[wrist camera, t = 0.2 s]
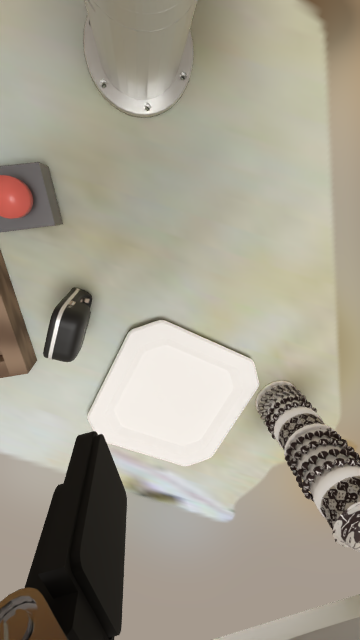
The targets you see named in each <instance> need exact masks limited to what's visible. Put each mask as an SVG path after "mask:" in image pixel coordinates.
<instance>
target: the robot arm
mask: <svg viewBox="0 0 360 640" xmlns="http://www.w3.org/2000/svg"><path fill="white" fill-rule="evenodd" d="M197 1H198V0H85V4H86V8H87V12H88V14H87V17H86V22H85V26H84V38H83V44H84V53H85V58H86V62H87V66H88V69H89V72H90V75H91V77H92V79H93V81H94V83H95V85H96V87H97V89H98V90H99V91H100V93H101V94H102V95H103V97H104V98H105V99H106V100H107V101H108V102H109V103H110V104H111V105H113V106H114V107H115V108H117V109H119V110H120V111H122V112H124V113H126V114H129V115H131V116H137V117H152V116H155V115H159V114H161V113H163V112H165V111H167V110H168V109H170V108H171V107H172V106H173V105H174V104H175V103H176V102H177V101H178V100H179V98H180V97H181V96H182V94H183V92H184V90H185V88H186V87H187V84H188V82H189V79H190V76H191V71H192V67H193V56H194V51H193V39H192V35H191V31H190V27H191V23H192V19H193V16H194V12H195V9H196V5H197ZM181 77H183V78H184V80H181ZM103 84H105V85H106V87H105V88H103V87H102V85H103ZM146 107H148V108H149V111H146V110H145V108H146ZM126 510H127V497H126V492H125V489H124V486H123V484H122V481H121V479H120V476H119V474H118V471H117V468H116V466H115V463H114V461H113V458H112V456H111V453H110V451H109V448H108V445H107V443H106V440H105V438H104V436H103V434H99V435H98V434H97V432H96V431H93V432H89V433H85V434H82V435H78V436H77V438H76V442H75V445H74V449H73V452H72V456H71V459H70V463H69V466H68V470H67V473H66V477H65V481H64V484H60V485H58V486H57V487H56V489H55V492H54V494H53V498H52V501H51V504H50V508H49V511H48V514H47V517H46V520H45V524H44V527H43V530H42V533H41V537H40V540H39V543H38V546H37V550H36V553H35V556H34V559H33V562H32V566H31V569H30V572H29V575H28V579H27V582H26V585H25V588H23V589H19V590H17V591H15V592H13V593H12V594H10V595H8V596H7V597H6V598H4V599H3V600H2V601H1V602H0V640H114V636H117V635H119V634H120V631H121V624H122V623H121V622H122V601H123V600H122V599H123V577H124V556H125V533H126ZM213 640H360V594H359V595H356V596H352V597H349V598H346V599H342V600H339V601H336V602H332V603H329V604H326V605H323V606H319V607H316V608H313V609H310V610H306V611H303V612H300V613H297V614H294V615H290V616H287V617H284V618H281V619H278V620H274V621H271V622H268V623H265V624H261V625H258V626H255V627H252V628H248V629H245V630H242V631H239V632H235V633H232V634H229V635H226V636H223V637H219V638H216V639H213Z"/></svg>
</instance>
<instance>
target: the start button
mask: <svg viewBox="0 0 360 640" xmlns="http://www.w3.org/2000/svg"><path fill="white" fill-rule="evenodd" d="M32 206H33V196H32V193H31V191H30V189H29V188H28V186H27V185H26V184H25V183H24V182H22V181H21V180H19V179H17V178H14V177H11V176H7V175H0V216H1V217H4V218H10V219H12V218H22V217H24V216H26V215H27V214H28V213H29V212H30V211H31V209H32Z"/></svg>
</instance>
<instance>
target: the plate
mask: <svg viewBox="0 0 360 640" xmlns="http://www.w3.org/2000/svg"><path fill="white" fill-rule="evenodd" d="M258 387H259V380H258V376H257V372H256V368H255V364H254V361H253V360H252V359H250V358H248V357H246V356H244V355H242V354H239V353H237V352H235V351H233V350H230V349H228V348H226V347H224V346H221V345H219V344H217V343H215V342H212V341H210V340H208V339H206V338H203V337H201V336H199V335H197V334H195V333H192V332H190V331H188V330H186V329H183V328H181V327H179V326H177V325H174V324H172V323H170V322H168V321H165V320H158V321H155V322H152V323H149V324H146V325H143V326H140V327H137V328H134V329H132V330H131V331H129V332H128V334H127V336H126V338H125V340H124V342H123V344H122V346H121V348H120V350H119V352H118V354H117V356H116V358H115V360H114V362H113V364H112V366H111V368H110V370H109V372H108V374H107V376H106V378H105V380H104V382H103V384H102V386H101V388H100V390H99V392H98V394H97V396H96V398H95V400H94V403H93V405H92V407H91V409H90V411H89V413H88V415H87V420H88V422H89V423H90V425H91V427H92V429H93V431H96V432H97V434H98V435H99V434H103V436H104V438H105V440H106V443H109V444H112V445H115V446H119V447H122V448H125V449H128V450H132V451H135V452H138V453H142V454H145V455H148V456H151V457H155V458H158V459H161V460H165V461H168V462H171V463H175V464H178V465H181V466H189V465H192V464H195V463H198V462H201V461H204V460H207V459H209V458H211V457H212V456H213V455H214V453H215V452H216V450H217V449H218V447H219V446H220V444H221V443H222V441H223V440H224V438H225V437H226V435H227V434H228V432H229V431H230V429H231V428H232V426H233V425H234V423H235V422H236V420H237V419H238V417H239V416H240V414H241V413H242V411H243V410H244V408H245V407H246V405H247V404H248V402H249V401H250V399H251V398H252V396H253V395H254V393H255V392H256V390H257V389H258Z"/></svg>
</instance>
